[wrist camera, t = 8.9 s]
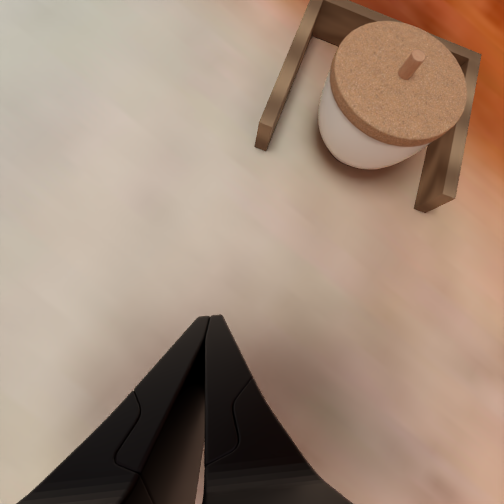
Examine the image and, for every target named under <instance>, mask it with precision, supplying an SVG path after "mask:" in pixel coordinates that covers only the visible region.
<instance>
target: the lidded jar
mask: <svg viewBox="0 0 504 504" xmlns="http://www.w3.org/2000/svg"><path fill="white" fill-rule="evenodd" d="M466 99H467V87H466V81H465V77H464V74H463V72H462V69H461V67H460V65H459V64H458V62H457V60H456V58H455V57H454V56H453V55H452V53H451V52H450V51H449V50H448V49H447V48H446V47H445V46H444V45H443V44H442V43H441V42H440V41H439V40H437V39H436V38H435V37H433V36H432V35H430V34H429V33H427V32H426V31H424V30H421V29H419V28H417V27H415V26H412V25H409V24H406V23H401V22H395V21H377V22H372V23H368V24H365V25H363V26H360V27H359V28H357V29H355V30H353V31H352V32H351V33H349V34H348V35H347V36H346V37H345V38H344V39H343V41H342V42H341V43H340V45H339V47H338V49H337V51H336V54H335V56H334V58H333V61H332V65H331V69H330V71H329V73H328V76H327V78H326V81H325V83H324V87H323V90H322V94H321V97H320V102H319V109H318V123H319V129H320V133H321V136H322V139H323V141H324V143H325V145H326V146H327V148H328V149H329V151H330V152H331V154H332V155H333V156H334V157H335V158H336V159H337V160H339V161H340V162H342V163H344V164H346V165H349V166H352V167H356V168H360V169H380V168H385V167H389V166H392V165H395V164H397V163H399V162H401V161H404V160H405V159H407V158H409V157H411V156H413V155H414V154H416V153H418V152H419V151H420V150H422V149H423V148H425V147H426V146H427V145H429V144H430V143H431V142H433V141H434V140H436V139H438V138H440V137H441V136H442V135H444V134H445V133H446V132H447V131H449V130H450V129H451V128H452V127H454V126H455V124H456V123H457V122H458V121H459V119H460V117H461V116H462V114H463V112H464V108H465V105H466Z"/></svg>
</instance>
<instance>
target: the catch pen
mask: <svg viewBox="0 0 504 504" xmlns="http://www.w3.org/2000/svg"><path fill="white" fill-rule="evenodd" d="M377 21H395V22H400V21H398V20H395V19H393V18H391V17H388V16H386V15H383V14H381V13H378V12H376V11H373V10H371V9H368V8H366V7H363V6H361V5H359V4H356V3H354V2H351V1H349V0H310V2H309V4H308V6H307V9H306V11H305V14H304V16H303V18H302V21H301V23H300V26H299V28H298V30H297V33H296V35H295V38H294V40H293V42H292V45H291V47H290V50H289V52H288V54H287V57H286V59H285V62H284V64H283V66H282V69H281V71H280V74H279V76H278V78H277V81H276V83H275V86H274V88H273V90H272V93H271V95H270V98H269V100H268V102H267V105H266V107H265V110H264V112H263V114H262V117H261V119H260V122H259V126H258V131H257V137H256V142H255V147H257V148H259V149H262V150H264V151H266V150H267V147H268V145H269V142H270V140H271V137H272V135H273V132H274V130H275V127H276V124H277V122H278V119H279V117H280V114H281V112H282V109H283V107H284V104H285V102H286V99H287V97H288V94H289V92H290V89H291V87H292V84H293V82H294V79H295V76H296V74H297V71H298V69H299V66H300V64H301V61H302V59H303V56H304V54H305V51H306V49H307V46H308V44H309V41H310V39H311V36H315V37H317V38H320V39H322V40H325V41H327V42H330V43H332V44H335V45H337V46H339V45H340V43H341V42H342V41H343V39H344V38H345V37H346V36H347V35H348V34H349V33H351V32H352V31H353V30H355V29H357V28H359V27H360V26H363V25H365V24H368V23H372V22H377ZM401 23H403V22H401ZM429 34H430V33H429ZM430 35H432V34H430ZM432 36H433V37H435V38H436V39H437V40H439V41H440V42H441V43H442V44H443V45H444V46H445V47H446V48H447V49H448V50H449V51H450V52H451V53H452V55H453V56H454V57H455V58H456V60H457V62H458V64H459V65H460V67H461V69H462V72H463V74H464V77H465V81H466V87H467V99H466V105H465V108H464V112H463V114H462V116H461V117H460V119H459V121H458V122H457V123H456V124H455V126H454V127H452V128H451V129H450V130H449V131H447V132H446V133H445V134H444V135H442V136H441V137H440V138H438V139H436V140H434V141H433V142H431V143H430V144H429V145H428V148H427V153H426V157H425V162H424V166H423V171H422V175H421V180H420V184H419V189H418V193H417V198H416V202H415V207H414V209H416V210H419V211H422V212H424V213H426V212H428V211H430V210H432V209H434V208H436V207H439V206H441V205H443V204H445V203H447V202H449V201H451V200H454V199H455V197H456V192H457V186H458V181H459V175H460V170H461V164H462V159H463V153H464V148H465V142H466V137H467V131H468V126H469V120H470V115H471V109H472V103H473V98H474V92H475V87H476V81H477V76H478V70H479V65H480V59H481V54H479V53H477V52H474V51H472V50H469V49H467V48H464V47H462V46H459V45H457V44H455V43H452V42H450V41H447V40H445V39H442V38H440V37H437V36H435V35H432Z"/></svg>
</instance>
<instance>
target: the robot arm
mask: <svg viewBox="0 0 504 504" xmlns="http://www.w3.org/2000/svg"><path fill="white" fill-rule="evenodd" d="M204 438H205V452H204V466H205V471H204V495H203V502H202V504H353V503H352V502H350V501H349V500H348V499H347V498H345V497H344V496H343V495H341V494H340V493H339V492H338V491H336V490H335V489H334V488H333V487H331V486H330V485H329V484H327V483H326V482H325V481H324V480H323V479H322V478H321V477H320V476H319V475H318V474H317V473H316V472H315V470H314V469H313V468H312V467H311V466H310V464H309V463H308V462H307V460H306V459H305V458H304V456H303V455H302V453H301V452H300V451H299V449H298V448H297V446H296V445H295V443H294V442H293V441H292V439H291V438H290V436H289V435H288V433H287V432H286V431H285V429H284V428H283V426H282V425H281V423H280V422H279V421H278V419H277V418H276V416H275V415H274V413H273V412H272V410H271V408H270V407H269V405H268V404H267V402H266V401H265V399H264V397H263V395H262V393H261V391H260V390H259V388H258V386H257V384H256V382H255V380H254V379H253V376H252V374H251V372H250V370H249V368H248V366H247V364H246V362H245V360H244V358H243V356H242V354H241V352H240V350H239V348H238V346H237V344H236V342H235V340H234V338H233V336H232V334H231V332H230V330H229V328H228V325H227V323H226V321H225V319H224V317H223V316H222V315H212V316H211V317H210V316H201V317H198V318H197V319H196V320H195V321H194V322H193V323H192V324H191V326H190V327H189V328H188V329H187V330H186V331H185V332H184V333H183V335H182V336H181V337H180V338H179V339H178V340H177V341H176V342H175V344H174V345H173V346H172V347H171V348H170V349H169V350H168V351H167V353H166V354H165V355H164V356H163V357H162V358H161V359H160V360H159V362H158V363H157V364H156V365H155V366H154V367H153V368H152V369H151V370H150V372H149V373H148V374H147V375H146V376H145V377H144V378H143V379H142V381H141V382H140V383H139V384H138V385H137V386H136V387H135V388H134V391H132V392H131V393H130V394H129V395H128V396H127V397H126V398H125V400H124V401H123V402H122V403H121V404H120V405H119V406H118V407H117V408H116V409H115V410H114V411H113V413H112V414H111V415H110V416H109V417H108V418H107V419H106V420H105V421H104V422H103V423H102V424H101V425H100V426H99V427H98V428H97V429H96V430H95V431H94V432H93V433H92V434H91V435H90V436H89V437H88V438H87V439H86V440H85V441H84V442H83V443H82V444H81V445H79V446H78V447H77V448H76V449H75V450H74V451H73V452H72V453H71V454H70V455H69V456H68V457H67V458H66V459H65V460H64V461H63V462H62V463H61V464H60V465H59V466H58V467H57V468H56V469H55V470H53V471H52V472H51V473H50V474H49V475H48V476H47V477H46V478H45V479H44V480H43V481H42V482H41V483H40V484H39V485H38V486H37V487H36V488H35V489H33V490H32V491H31V492H30V493H29V494H28V495H27V496H25V497H24V498H23V499H22V500H20V501H19V502H18V503H16V504H195V499H196V492H197V485H198V479H199V472H200V465H201V458H202V452H203V445H204Z"/></svg>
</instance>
